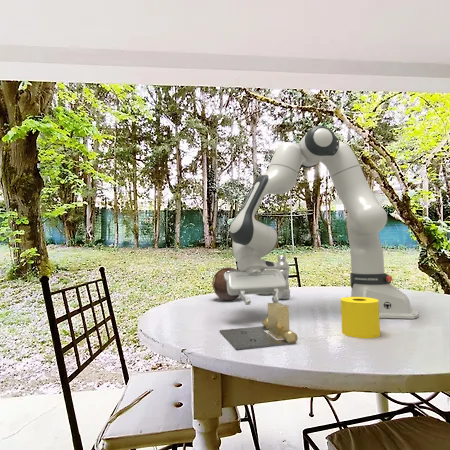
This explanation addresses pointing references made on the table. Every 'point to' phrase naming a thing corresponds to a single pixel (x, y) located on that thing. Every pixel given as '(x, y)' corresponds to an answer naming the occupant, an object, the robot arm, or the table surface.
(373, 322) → the yellow toilet paper roll
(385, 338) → the table surface
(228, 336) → the fixed leaf
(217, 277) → the wooden sphere
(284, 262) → the plastic bottle
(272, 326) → the plate
